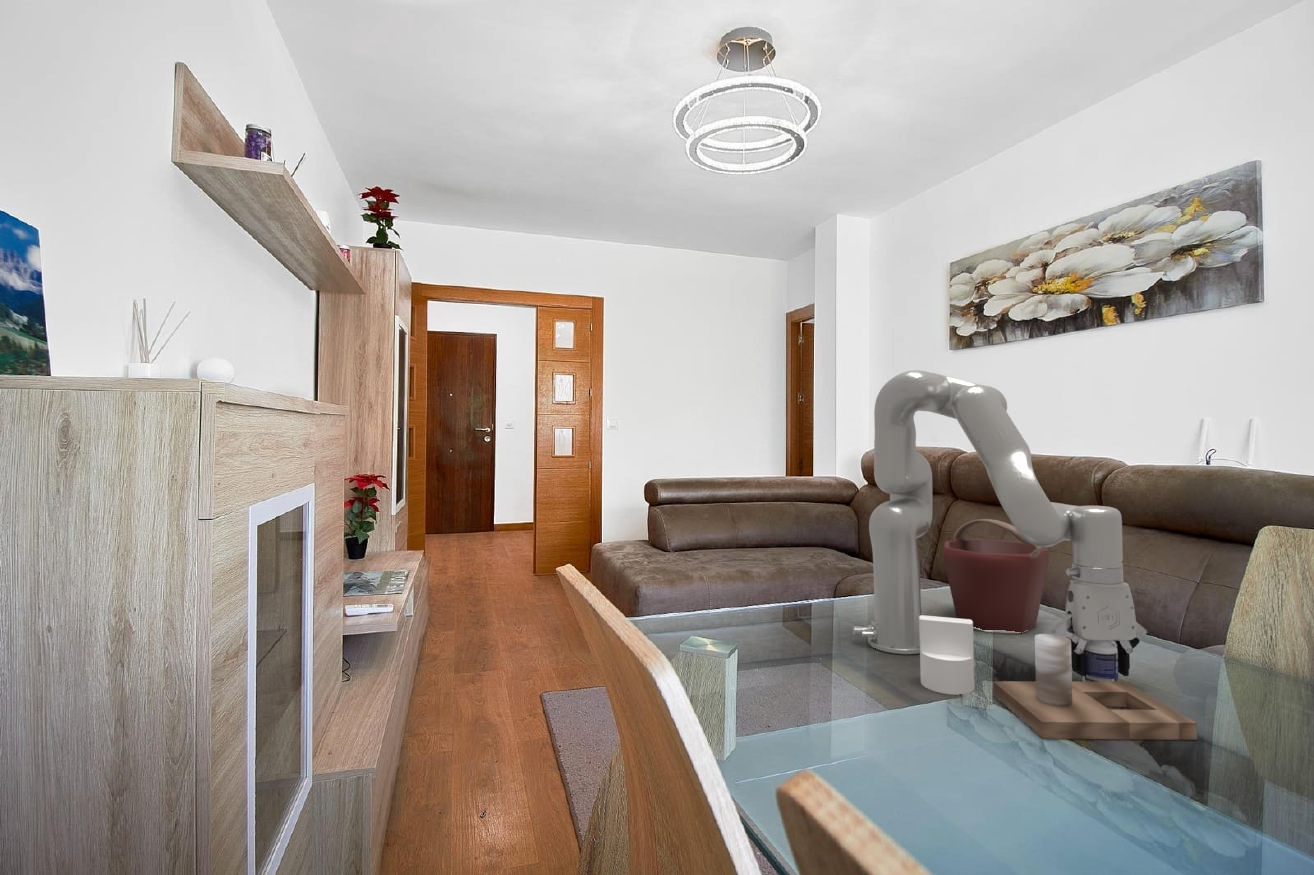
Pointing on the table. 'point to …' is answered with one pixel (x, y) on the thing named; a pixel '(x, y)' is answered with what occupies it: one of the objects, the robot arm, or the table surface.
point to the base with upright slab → (946, 654)
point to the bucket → (996, 579)
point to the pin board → (1086, 702)
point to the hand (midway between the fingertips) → (1100, 672)
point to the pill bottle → (1101, 661)
